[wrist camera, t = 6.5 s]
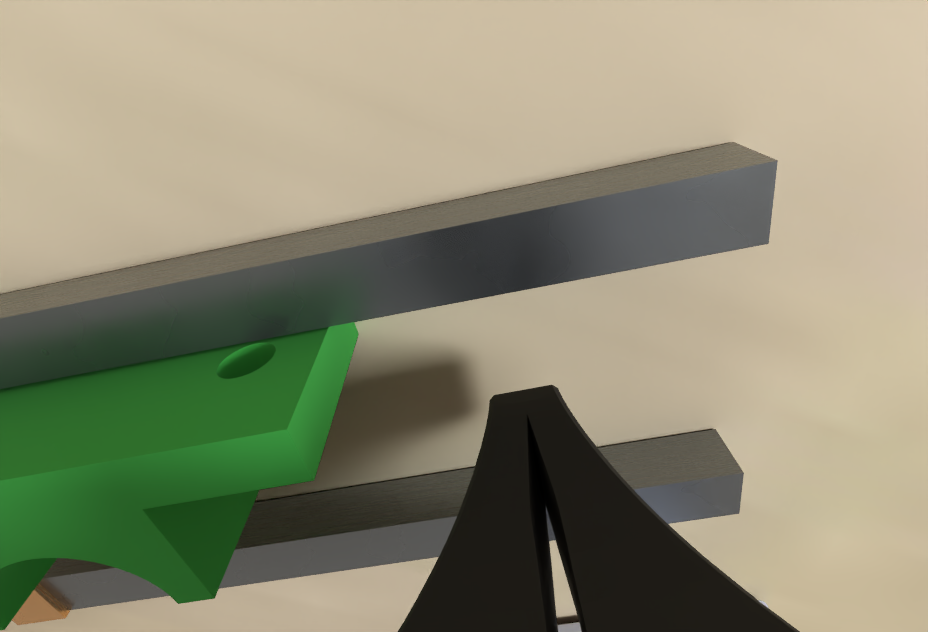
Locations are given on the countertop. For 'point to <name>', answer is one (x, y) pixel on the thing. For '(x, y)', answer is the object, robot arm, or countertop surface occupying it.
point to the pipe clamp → (161, 459)
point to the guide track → (382, 294)
